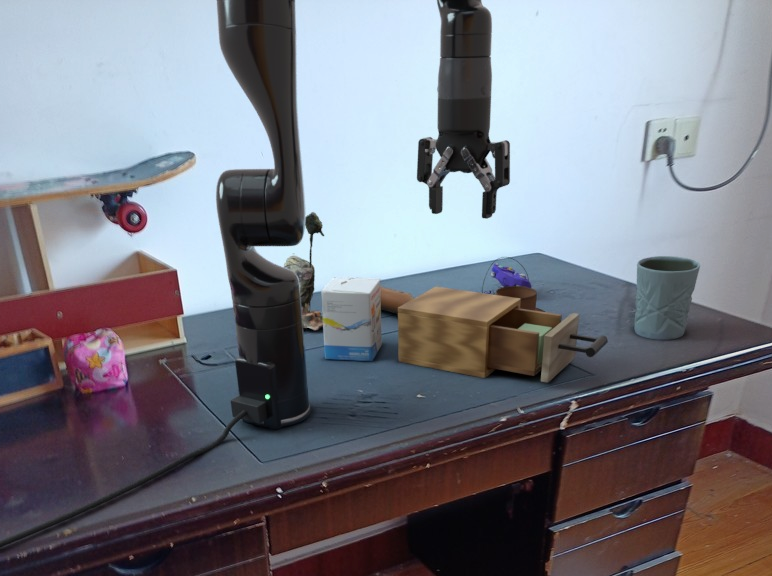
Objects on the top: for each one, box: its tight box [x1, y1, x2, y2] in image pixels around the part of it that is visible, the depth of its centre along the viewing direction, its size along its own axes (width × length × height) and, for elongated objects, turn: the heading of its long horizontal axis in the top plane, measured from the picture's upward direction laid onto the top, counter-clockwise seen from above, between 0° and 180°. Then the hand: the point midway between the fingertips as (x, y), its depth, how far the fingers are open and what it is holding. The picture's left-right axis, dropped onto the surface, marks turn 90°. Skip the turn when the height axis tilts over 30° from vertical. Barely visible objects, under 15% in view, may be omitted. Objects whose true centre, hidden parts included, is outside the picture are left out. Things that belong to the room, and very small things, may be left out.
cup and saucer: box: [495, 286, 546, 312], centre depth 150 cm, size 12×12×6 cm
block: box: [518, 323, 552, 364], centre depth 131 cm, size 5×5×5 cm
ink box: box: [320, 276, 383, 362], centre depth 139 cm, size 9×8×12 cm
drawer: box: [487, 308, 609, 383], centre depth 130 cm, size 20×12×7 cm, turn 59°
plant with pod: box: [283, 211, 325, 331], centre depth 149 cm, size 8×11×20 cm
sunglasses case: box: [380, 285, 415, 315], centre depth 159 cm, size 18×7×7 cm
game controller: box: [481, 256, 533, 294], centre depth 165 cm, size 10×8×10 cm
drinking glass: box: [634, 255, 701, 341], centre depth 143 cm, size 10×10×12 cm
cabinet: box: [397, 286, 521, 379], centre depth 136 cm, size 16×13×9 cm
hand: (461, 215), depth 125 cm, fingers open, 8 cm apart
